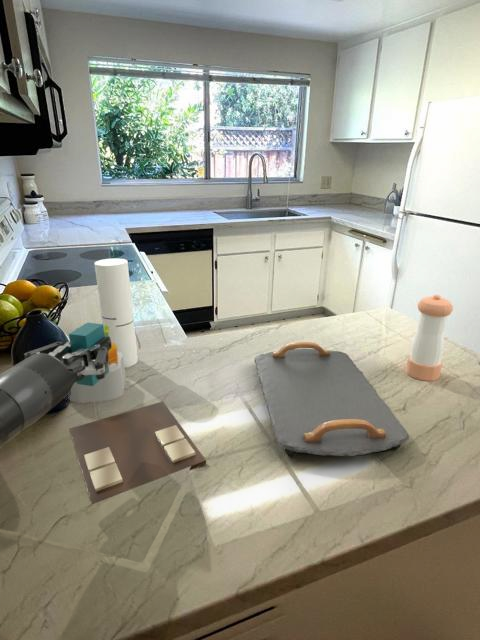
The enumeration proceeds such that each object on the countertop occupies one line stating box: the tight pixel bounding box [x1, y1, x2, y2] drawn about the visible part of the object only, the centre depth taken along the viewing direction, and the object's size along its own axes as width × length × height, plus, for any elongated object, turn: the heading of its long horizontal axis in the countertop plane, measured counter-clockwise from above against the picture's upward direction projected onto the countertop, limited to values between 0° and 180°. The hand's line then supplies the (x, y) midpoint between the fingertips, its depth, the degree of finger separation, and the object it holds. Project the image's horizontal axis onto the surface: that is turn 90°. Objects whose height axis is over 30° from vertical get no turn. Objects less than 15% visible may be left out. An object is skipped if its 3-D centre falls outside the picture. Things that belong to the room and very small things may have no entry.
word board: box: [68, 400, 207, 505], centre depth 69 cm, size 18×20×1 cm
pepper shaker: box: [405, 294, 454, 382], centre depth 90 cm, size 7×7×19 cm
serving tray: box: [254, 341, 410, 458], centre depth 82 cm, size 39×23×6 cm, turn 5°
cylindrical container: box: [93, 257, 139, 369], centre depth 95 cm, size 7×7×25 cm
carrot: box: [104, 325, 118, 365], centre depth 83 cm, size 5×5×15 cm
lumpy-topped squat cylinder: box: [69, 352, 127, 404], centre depth 84 cm, size 10×13×9 cm
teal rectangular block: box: [68, 322, 109, 386], centre depth 66 cm, size 3×5×9 cm, turn 166°
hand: (98, 340), depth 68 cm, fingers closed on teal rectangular block, 3 cm apart
